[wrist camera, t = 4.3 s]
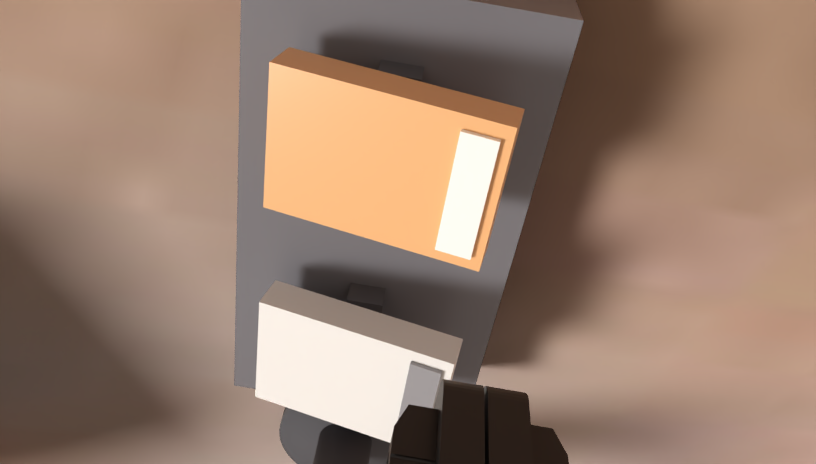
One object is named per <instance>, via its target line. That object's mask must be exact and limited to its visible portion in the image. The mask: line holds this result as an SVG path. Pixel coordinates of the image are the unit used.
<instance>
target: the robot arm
mask: <svg viewBox="0 0 816 464" xmlns="http://www.w3.org/2000/svg"><path fill="white" fill-rule="evenodd" d="M386 464H569V462H568V455H567V453H566V451H565V450H564V448H563V446H562V444H561V443H560V441H559V439H558V437H557V435H556V434H555V432H554V430H553V429H551V428H546V427H540V426H534V425H531V424H530V411H529V399H528V395H527V394H526V393H523V392H517V391H511V390H505V389H500V388H494V387H488V386H485V387H483V386H481V385H475V384H469V383H464V382H458V381H452V380H446V379H442V380H441V383H440V386H439V390H438V394H437V398H436V401H435V405H434V409H433V408H427V407H422V406H416V405H410V404H409V405H408V406H407V408H406V409H405V411H404V412H403V414H402V415H401V417H400V418H399V420H398V421H397V422H396V424H395V425H394V429H393V433H392V438H391V442H390V447H389V451H388V456H387V461H386Z"/></svg>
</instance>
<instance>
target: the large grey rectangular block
mask: <svg viewBox="0 0 816 464" xmlns="http://www.w3.org/2000/svg"><path fill="white" fill-rule="evenodd" d="M583 22H584V20H583V17H582V15H581V12H580V10H579V7H578V4H577V2H576V0H241V32H240V89H239V147H238V204H237V261H236V318H235V376H234V385H235V386H241V387H247V388H254V389H256V366H257V343H258V319H259V302H260V300H261V299H262V298H263V296H264V295H265V294H266V292H267V291H268V290H269V288H270V287H271V285H272V284H273V283H274V281H275V280H277V281H280V282H283V283H287V284H290V285H293V286H296V287H299V288H302V289H306V290H309V291H312V292H315V293H318V294H321V295H325V296H328V297H331V298H334V299H337V300H340V301H344V302H347V303H350V304H353V305H356V306H360V307H363V308H366V309H369V310H372V311H375V312H379V313H382V314H385V315H388V316H391V317H394V318H398V319H401V320H404V321H407V322H410V323H414V324H417V325H420V326H423V327H426V328H429V329H433V330H436V331H439V332H442V333H445V334H448V335H452V336H455V337H458V338H461V339H463V341H462V345H461V348H460V352H459V356H458V359H457V363H456V367H455V371H454V374H453V378H452V381H458V382H464V383H469V384H475V385H476V381H477V378H478V375H479V371H480V368H481V365H482V361H483V358H484V354H485V351H486V348H487V344H488V341H489V338H490V334H491V331H492V328H493V324H494V321H495V317H496V314H497V311H498V307H499V304H500V301H501V297H502V294H503V291H504V287H505V284H506V281H507V277H508V274H509V270H510V267H511V264H512V260H513V257H514V254H515V250H516V247H517V244H518V240H519V237H520V233H521V230H522V227H523V223H524V220H525V217H526V213H527V210H528V207H529V203H530V200H531V197H532V193H533V190H534V186H535V183H536V180H537V176H538V173H539V170H540V166H541V163H542V160H543V156H544V153H545V149H546V146H547V143H548V139H549V136H550V133H551V129H552V126H553V123H554V119H555V116H556V113H557V109H558V106H559V102H560V99H561V96H562V92H563V89H564V86H565V82H566V79H567V76H568V72H569V69H570V65H571V62H572V59H573V55H574V52H575V49H576V45H577V42H578V39H579V35H580V32H581V29H582V25H583ZM289 47H291V48H295V49H298V50H302V51H306V52H310V53H314V54H318V55H321V56H325V57H329V58H333V59H337V60H340V61H344V62H348V63H352V64H356V65H359V66H363V67H367V68H371V69H375V70H379V71H382V72H386V73H390V74H394V75H398V76H401V77H405V78H409V79H413V80H417V81H420V82H424V83H428V84H432V85H436V86H439V87H443V88H447V89H451V90H455V91H459V92H462V93H466V94H470V95H474V96H478V97H481V98H485V99H489V100H493V101H497V102H500V103H504V104H508V105H512V106H516V107H520V108H523V109H525V110H524V114H523V118H522V121H521V125H520V129H519V133H518V136H517V140H516V144H515V147H514V151H513V155H512V159H511V162H510V166H509V170H508V173H507V177H506V181H505V185H504V188H503V192H502V196H501V199H500V203H499V207H498V211H497V214H496V218H495V222H494V226H493V229H492V233H491V237H490V240H489V244H488V248H487V251H486V254H485V256H484V259H483V262H482V265H481V268H480V271H479V272H478V271H475V270H471V269H468V268H465V267H461V266H458V265H455V264H451V263H448V262H445V261H441V260H438V259H434V258H431V257H428V256H424V255H421V254H418V253H414V252H411V251H408V250H404V249H401V248H398V247H394V246H391V245H388V244H384V243H381V242H378V241H374V240H371V239H368V238H364V237H361V236H358V235H354V234H351V233H348V232H344V231H341V230H338V229H334V228H331V227H328V226H324V225H321V224H318V223H314V222H311V221H308V220H304V219H301V218H298V217H294V216H291V215H288V214H284V213H281V212H278V211H274V210H271V209H268V208H264V207H263V201H264V177H265V154H266V130H267V106H268V83H269V62H270V61H271V60H273V59H274V58H275V57H277V56H278V55H279V54H281V53H282V52H283V51H285V50H286V49H287V48H289Z"/></svg>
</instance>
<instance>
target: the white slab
mask: <svg viewBox="0 0 816 464" xmlns="http://www.w3.org/2000/svg"><path fill="white" fill-rule="evenodd" d="M462 341H463V339H461V338H458V337H455V336H452V335H448V334H445V333H442V332H439V331H436V330H433V329H429V328H426V327H423V326H420V325H417V324H414V323H410V322H407V321H404V320H401V319H398V318H394V317H391V316H388V315H385V314H382V313H379V312H375V311H372V310H369V309H366V308H363V307H360V306H356V305H353V304H350V303H347V302H344V301H340V300H337V299H334V298H331V297H328V296H325V295H321V294H318V293H315V292H312V291H309V290H306V289H302V288H299V287H296V286H293V285H290V284H287V283H283V282H280V281H277V280H275V281H274V283H273V284H272V285H271V287H270V288H269V290H268V291H267V292H266V294H265V295H264V296H263V298H262V299H261V300H260V302H259V319H258V343H257V366H256V390H255V397H258V398H261V399H264V400H267V401H269V402H272V403H275V404H278V405H281V406H284V407H287V408H290V409H293V410H296V411H299V412H302V413H305V414H307V415H310V416H313V417H316V418H319V419H322V420H325V421H328V422H331V423H334V424H337V425H340V426H342V427H345V428H348V429H351V430H354V431H357V432H360V433H363V434H366V435H369V436H372V437H375V438H378V439H380V440H383V441H386V442H389V443H390V442H391V438H392V433H393V429H394V425H395V424H396V422H397V421H398V420H399V418H400V417H401V415H402V414H403V412H404V411H405V409H406V408H407V406H408V405H409V404H410V405H416V406H422V407H427V408H433V409H434V405H435V401H436V398H437V394H438V390H439V386H440V383H441V380H442V379H446V380H452V378H453V374H454V371H455V367H456V363H457V359H458V356H459V352H460V348H461V345H462Z"/></svg>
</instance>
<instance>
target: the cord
mask: <svg viewBox="0 0 816 464" xmlns="http://www.w3.org/2000/svg"><path fill="white" fill-rule="evenodd" d="M280 440H281V443H282V445H283V448H284V449H285V451H286V452H287V454H288V455H289V456H290V457H291V458H292V459H293V460H294V461H295V462H296V463H297V464H386V461H387V456H388V451H389V447H390V443H389V442H386V441H383V440H380V439H378V438H375V437H372V436H369V435H366V434H363V433H360V432H357V431H354V430H351V429H348V428H345V427H342V426H340V425H337V424H334V423H331V422H328V421H325V420H322V419H319V418H316V417H313V416H310V415H307V414H305V413H302V412H299V411H296V410H293V409H290V408H287V407H286V408H285V410H284V414H283V417H282V421H281V424H280Z"/></svg>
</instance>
